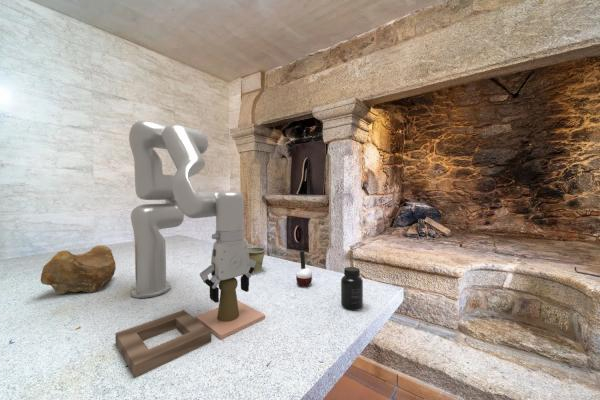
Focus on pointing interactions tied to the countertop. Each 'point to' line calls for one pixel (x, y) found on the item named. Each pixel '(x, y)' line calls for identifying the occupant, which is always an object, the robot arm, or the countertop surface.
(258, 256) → the ceramic cup
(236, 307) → the olive tall flared piece
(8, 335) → the countertop surface
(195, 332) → the frame
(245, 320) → the terracotta tile
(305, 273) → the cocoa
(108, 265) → the rough brown rock
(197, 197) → the robot arm
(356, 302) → the supplement bottle
